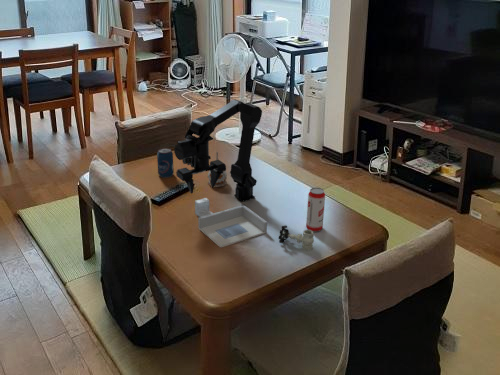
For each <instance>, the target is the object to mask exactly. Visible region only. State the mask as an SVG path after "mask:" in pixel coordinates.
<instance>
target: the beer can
mask: <svg viewBox="0 0 500 375" xmlns="http://www.w3.org/2000/svg"><path fill="white" fill-rule="evenodd" d="M309 189H310V190H309V192H308V195H307V206H306V207H307V210H306V224H305V228H306V230H312V231H313V233H318V232H320V231H322V229H323V227H324V216H325V203H326V202H325V201H326V193H325V189H324V188H321V187H311V188H309Z"/></svg>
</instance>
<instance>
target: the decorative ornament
mask: <svg viewBox="0 0 500 375" xmlns="http://www.w3.org/2000/svg"><path fill="white" fill-rule="evenodd" d="M215 154H216V157H215V158H216V160H219V152H218V151H216V153H215ZM227 176H228V174H227V170H226V171H223V173H222V174H221V175H220V177H219V178H218V180H217V182H216V184H215V186H214V187H217V188H218V187H224V186H225V185H227V179H228V177H227ZM207 178H208V181H207V184H208V185H209V186H211V172H210V170H209V171H208V173H207Z"/></svg>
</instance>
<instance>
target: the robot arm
mask: <svg viewBox="0 0 500 375" xmlns="http://www.w3.org/2000/svg"><path fill="white" fill-rule="evenodd" d="M238 113H239V120H240V122H241V125H242V126H241V127H242V128H241V135H240V141H239V142H240V143H239V148H238V152H237V153H238V154H237V160H236V161H235V162H234V163H232V164H231V166H230V171H229V174H230V178H232V181H233V182H234V183H236V184H235V185H236V186H235V194H234V195H233V196H234V197H235V198H236V199H238V200H239V201H241V202H246V201H249V200H252V199H253V200H254V199H255V198H256V196H255V195H254V187H255V186H256V185H257V182H258V180H257V179H256V178H255V177H253V176H252V175H253V174H252V173H253V169H252V166H251V163H250V162H251V161H250V160H251V154H252V148H253V143H254V136H255V129H256V128H257V126H258V125H259V124H260V122H261V119H262V115H263V109H262V108H261V107H260V106H258V105H254V104H251V103H249V102H246V103H245V102H243V101H241V100H238V99H236V98H235V99H231V100H230V101H229V103H227V104H225V105H223V106H222V107H220V108H219V109H217V110H215V111H214V112H212V113H210V114H208V115H204V116H200V117H199V116H198V117H197V118H194V119H193V120H192V121H191V122H190V125H189V128H188V130H187V131H186V133H185V134H184V139H183V140H179V141H177V143H176V145H175V146H174V148H173V152H174V153H173V154H174V155H175V157H176V159H178V160H179V161H182V164H183V165H187V166H190V167H191V168H192V169H189V168H187V167H183V168H178V169H177V170H176V172H175V173H176V177H177V178H179V180H181V181H182V182H185V183H186V185H187V188H188V191H189V193H190V194H193V193H194V179H193V177H194V176H193V175H196V174H201V173H205V172H209V171H210V172H211V185H210V187H211V189H214V187H215V184H216V182H217V180H218V178H219V177H220V175H221V174H222V173H223V171H226V172H227V165H226V164H225V163H224V162H223V161H221V160H220V159H218V160H212V161H210V160H211V156H210V155H209V154H210V151H209V150H210V146H209V145H210V144H209V142H210V141H213V140H214V137H212V136H211V135H212V134H213V133H214V132H215V130H216V128H217V127H218V126H219V125H220V124H222V123H224V122H225V121H227V120H229V119H231V118H232V117H233V116H235V115H237V114H238Z"/></svg>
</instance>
